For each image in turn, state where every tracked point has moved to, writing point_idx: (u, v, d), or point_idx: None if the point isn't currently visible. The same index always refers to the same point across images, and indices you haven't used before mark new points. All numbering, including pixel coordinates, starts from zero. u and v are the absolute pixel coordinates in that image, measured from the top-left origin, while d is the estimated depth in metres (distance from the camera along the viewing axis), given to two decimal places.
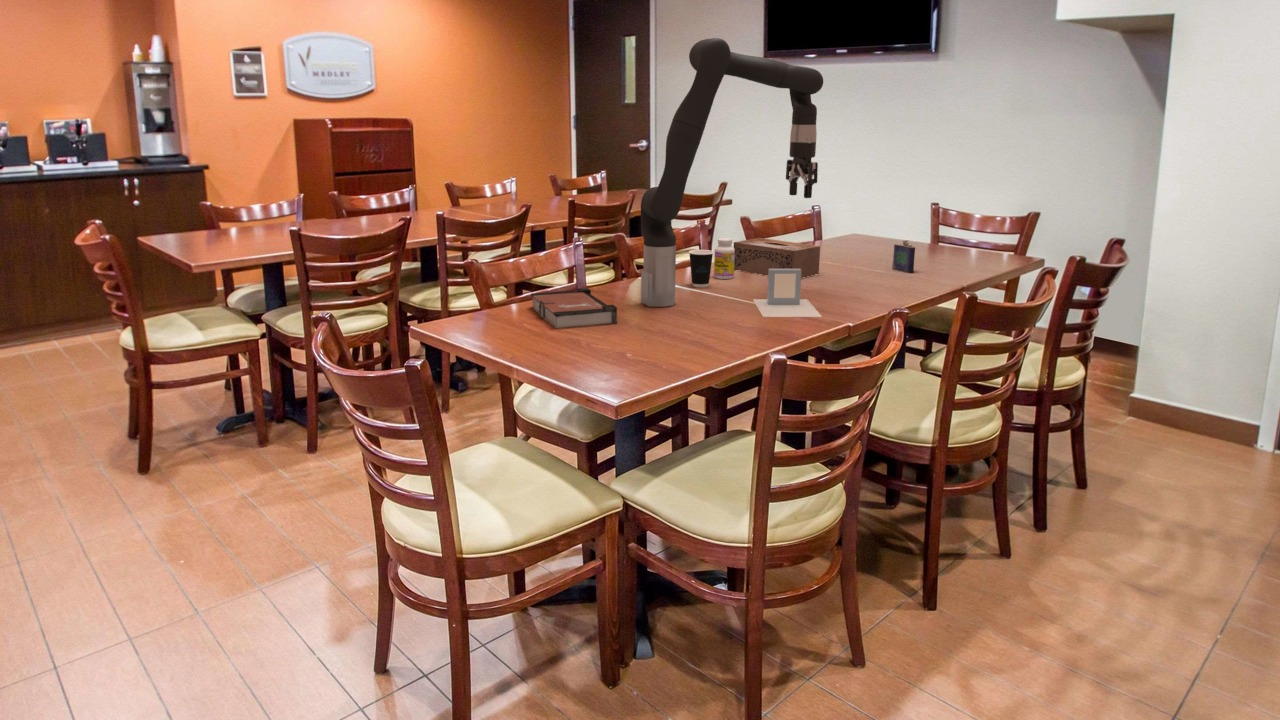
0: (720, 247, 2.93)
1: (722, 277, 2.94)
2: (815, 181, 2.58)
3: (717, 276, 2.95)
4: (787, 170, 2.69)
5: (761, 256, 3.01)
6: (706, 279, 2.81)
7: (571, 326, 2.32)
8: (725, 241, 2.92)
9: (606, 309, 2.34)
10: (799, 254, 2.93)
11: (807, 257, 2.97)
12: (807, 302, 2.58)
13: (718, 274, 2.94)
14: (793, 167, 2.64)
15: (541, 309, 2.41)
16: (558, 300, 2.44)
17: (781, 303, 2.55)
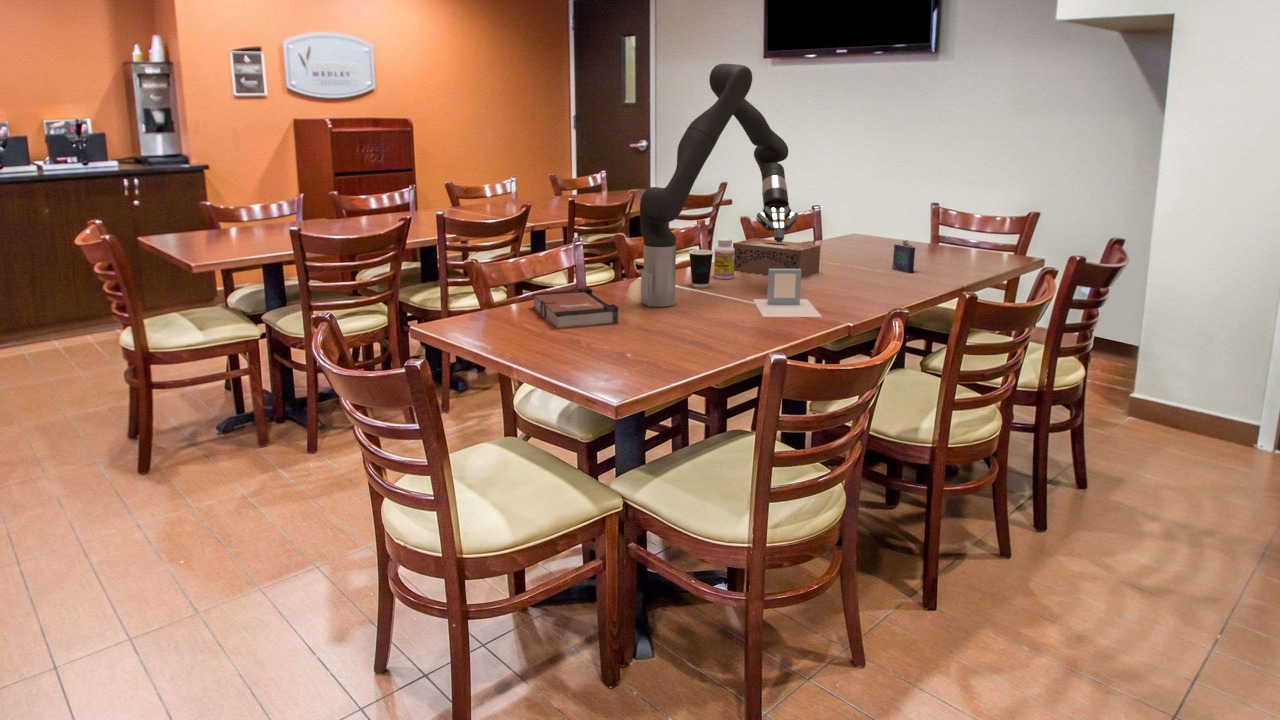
0: (720, 247, 2.93)
1: (722, 277, 2.94)
2: (787, 229, 2.66)
3: (717, 276, 2.95)
4: (765, 219, 2.65)
5: (764, 256, 3.00)
6: (706, 279, 2.81)
7: (572, 326, 2.32)
8: (725, 241, 2.92)
9: (607, 309, 2.34)
10: (804, 253, 2.94)
11: (810, 256, 2.98)
12: (807, 302, 2.58)
13: (718, 274, 2.94)
14: (774, 210, 2.66)
15: (542, 309, 2.41)
16: (559, 300, 2.44)
17: (781, 303, 2.55)
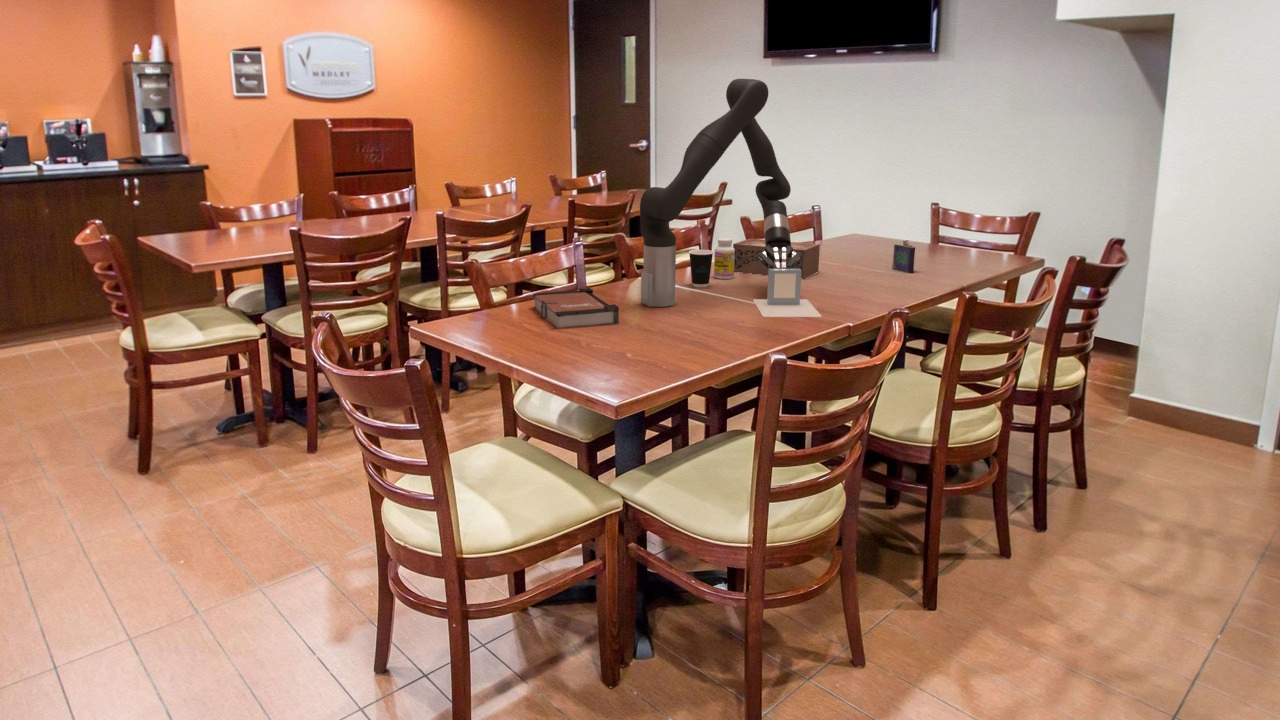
0: (720, 247, 2.93)
1: (722, 277, 2.94)
2: None
3: (717, 276, 2.95)
4: (767, 259, 2.62)
5: None
6: (706, 279, 2.81)
7: (573, 326, 2.32)
8: (725, 241, 2.92)
9: (608, 309, 2.34)
10: (807, 253, 2.95)
11: (812, 256, 2.99)
12: (807, 302, 2.58)
13: (718, 274, 2.94)
14: (776, 250, 2.62)
15: (543, 309, 2.41)
16: (560, 300, 2.45)
17: (781, 303, 2.55)
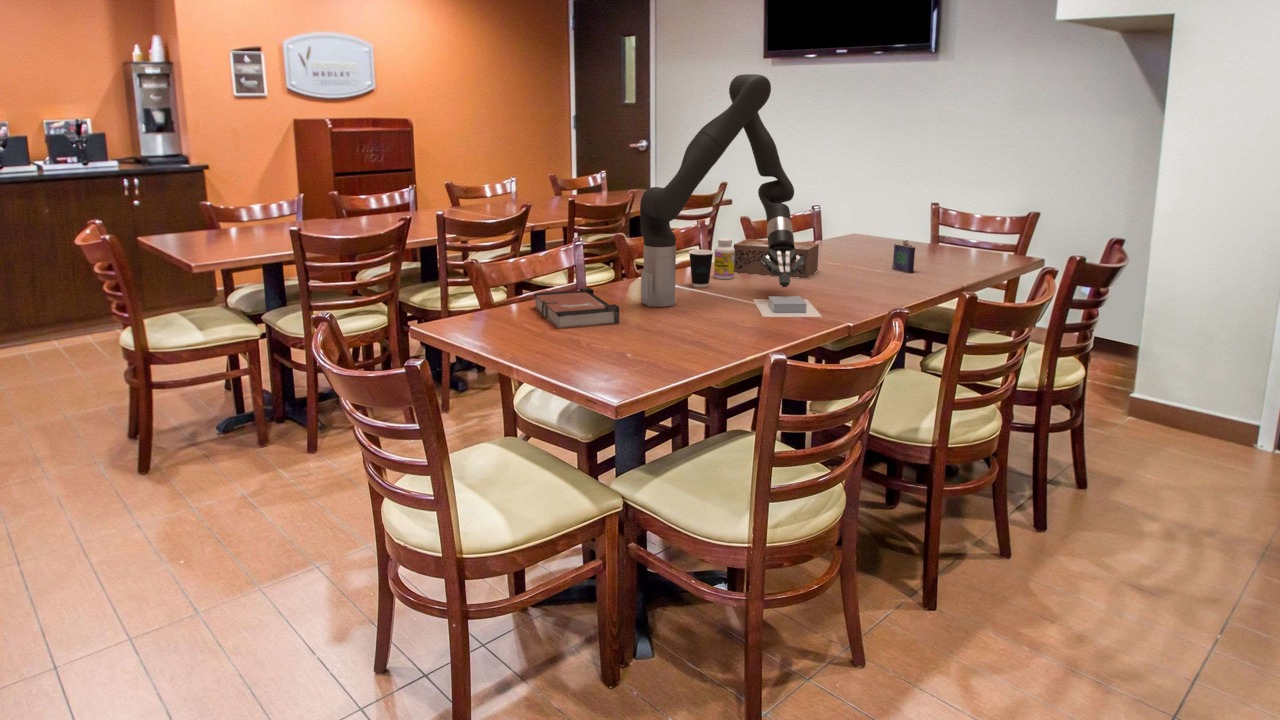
0: (720, 247, 2.93)
1: (722, 277, 2.94)
2: (793, 273, 2.56)
3: (717, 276, 2.95)
4: (770, 263, 2.55)
5: None
6: (706, 279, 2.81)
7: (573, 326, 2.32)
8: (725, 241, 2.92)
9: (608, 309, 2.34)
10: (810, 252, 2.96)
11: (813, 255, 3.00)
12: (807, 302, 2.58)
13: (718, 274, 2.94)
14: (779, 254, 2.56)
15: (544, 309, 2.41)
16: (561, 300, 2.45)
17: None
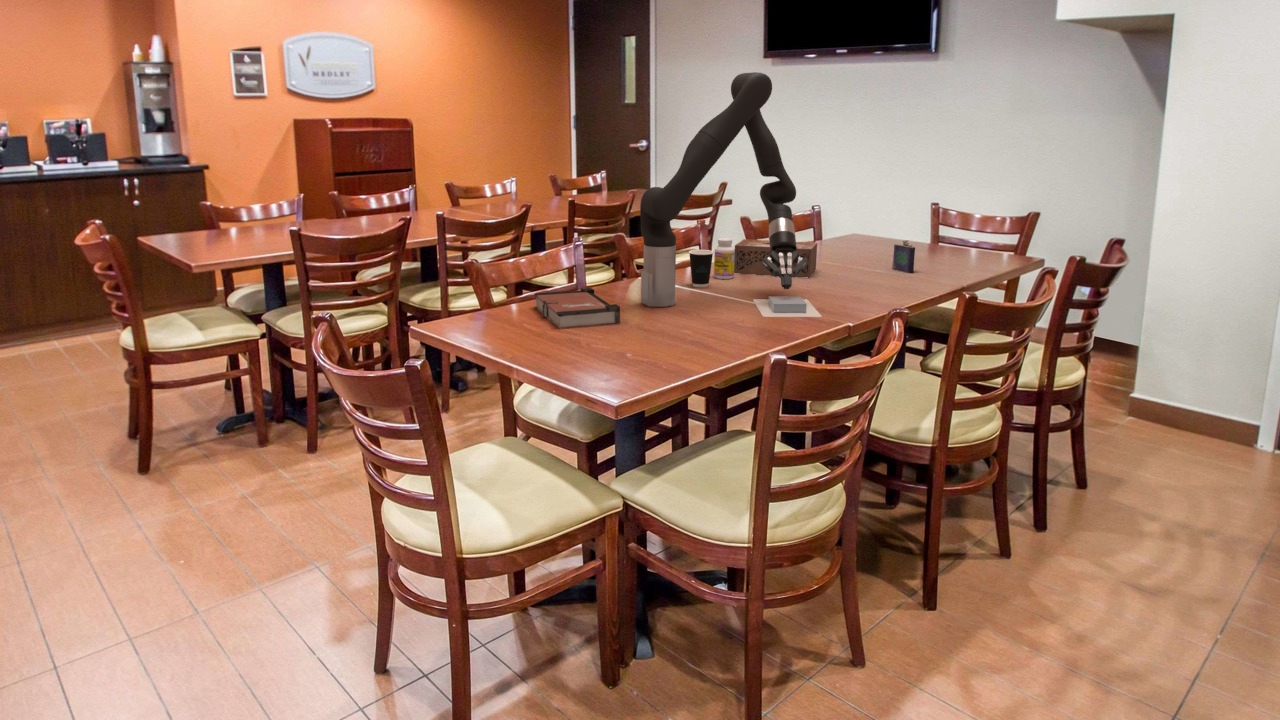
0: (720, 247, 2.93)
1: (722, 277, 2.94)
2: (795, 275, 2.53)
3: (717, 276, 2.95)
4: (772, 265, 2.52)
5: None
6: (706, 279, 2.81)
7: (574, 326, 2.32)
8: (725, 241, 2.92)
9: (609, 309, 2.34)
10: (812, 252, 2.97)
11: (814, 254, 3.02)
12: (807, 302, 2.58)
13: (718, 274, 2.94)
14: (781, 255, 2.53)
15: (544, 309, 2.41)
16: (561, 300, 2.45)
17: None
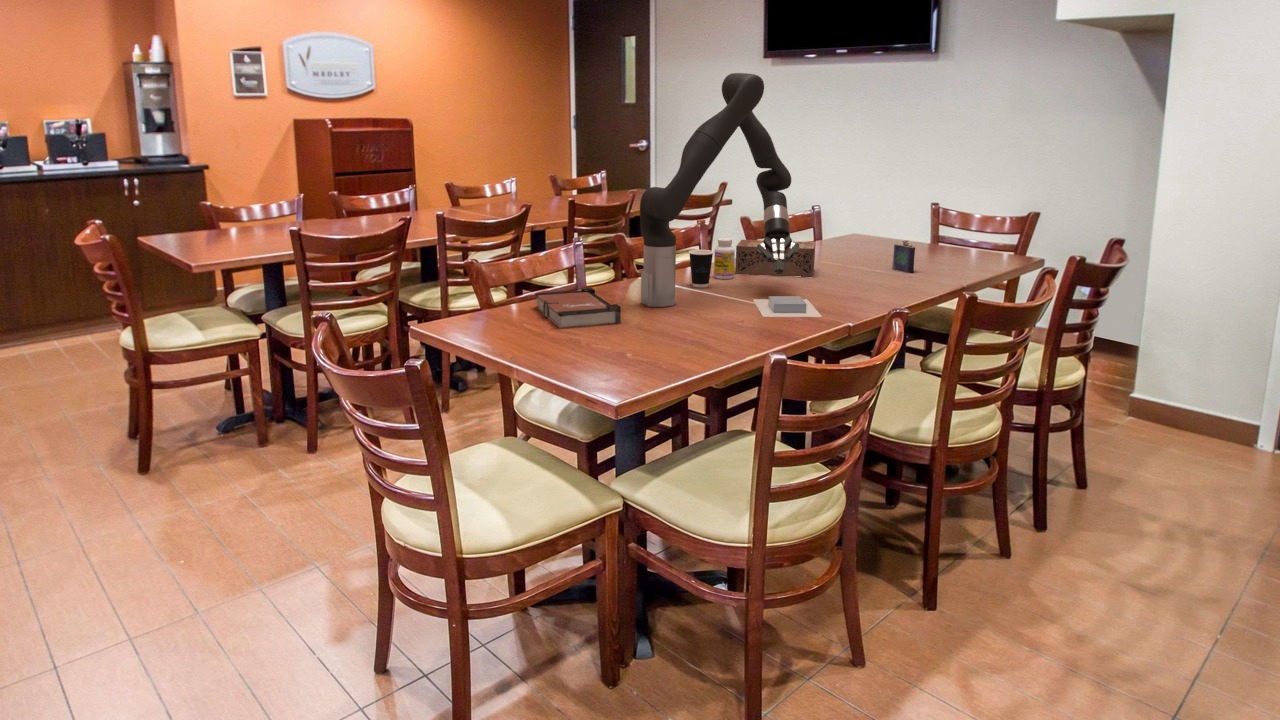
0: (720, 247, 2.93)
1: (722, 277, 2.94)
2: (788, 260, 2.63)
3: (717, 276, 2.95)
4: (765, 251, 2.63)
5: None
6: (706, 279, 2.81)
7: (575, 326, 2.32)
8: (725, 241, 2.92)
9: (610, 309, 2.34)
10: None
11: (814, 254, 3.03)
12: (807, 302, 2.58)
13: (718, 274, 2.94)
14: (774, 241, 2.63)
15: (545, 309, 2.41)
16: (562, 300, 2.45)
17: None
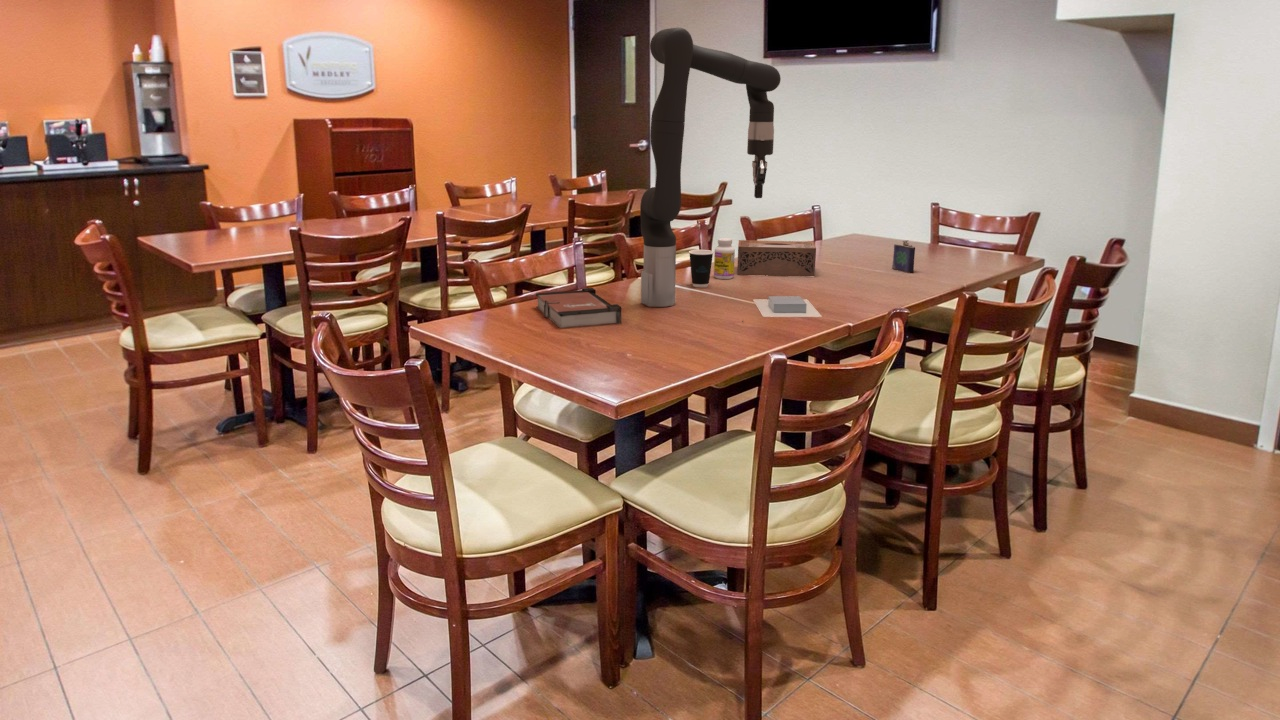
0: (720, 247, 2.93)
1: (722, 277, 2.94)
2: (762, 182, 2.61)
3: (717, 276, 2.95)
4: None
5: (775, 257, 2.99)
6: (706, 279, 2.81)
7: (575, 326, 2.32)
8: (725, 241, 2.92)
9: (610, 309, 2.34)
10: None
11: None
12: (807, 302, 2.58)
13: (718, 274, 2.94)
14: (752, 164, 2.64)
15: (546, 309, 2.41)
16: (563, 300, 2.45)
17: None
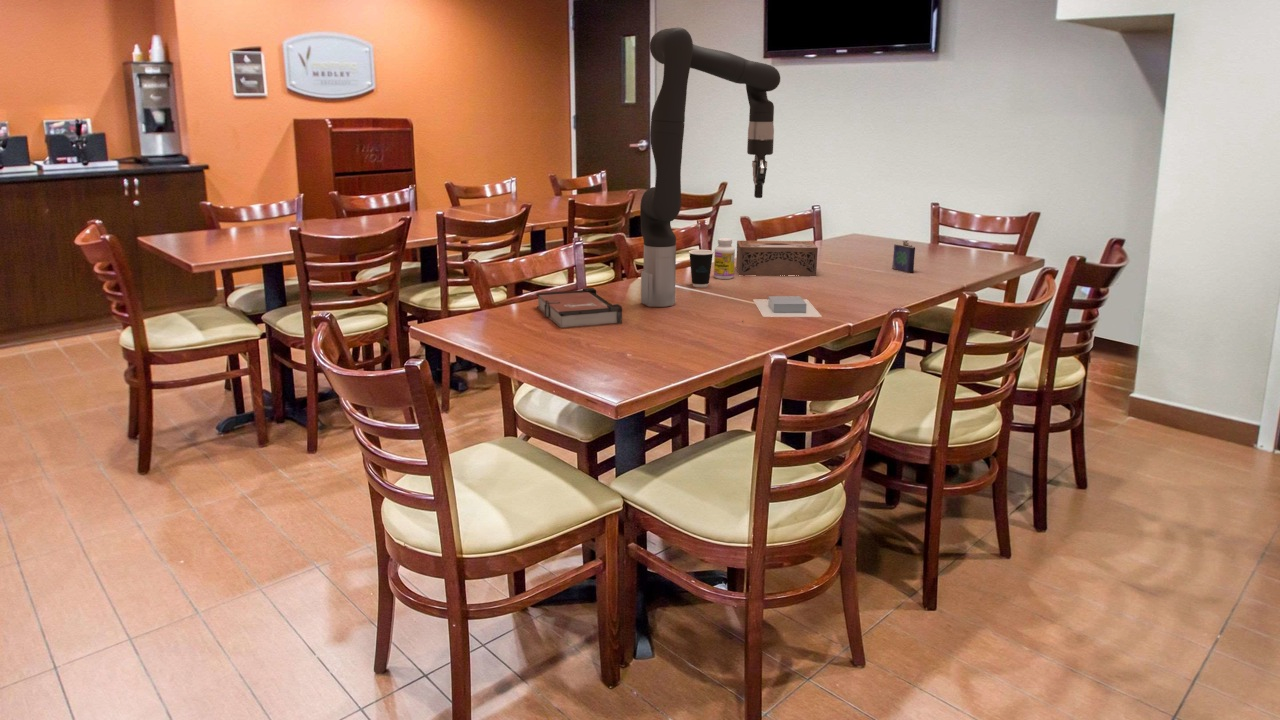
0: (720, 247, 2.93)
1: (722, 277, 2.94)
2: (762, 182, 2.61)
3: (717, 276, 2.95)
4: None
5: (777, 257, 2.99)
6: (706, 279, 2.81)
7: (576, 326, 2.32)
8: (725, 241, 2.92)
9: (611, 309, 2.34)
10: None
11: None
12: (807, 302, 2.58)
13: (718, 274, 2.94)
14: (752, 164, 2.64)
15: (546, 309, 2.41)
16: (563, 300, 2.45)
17: None
